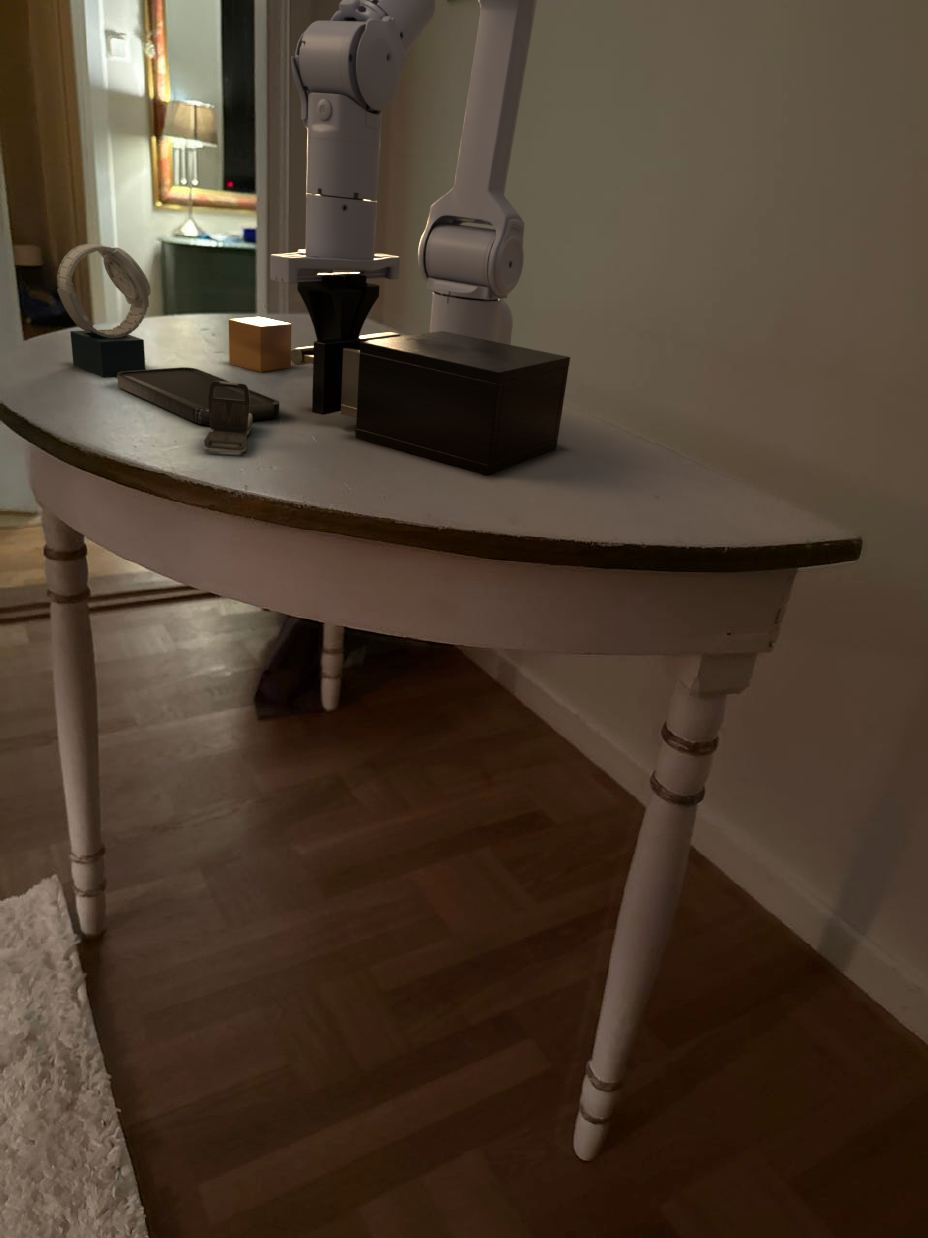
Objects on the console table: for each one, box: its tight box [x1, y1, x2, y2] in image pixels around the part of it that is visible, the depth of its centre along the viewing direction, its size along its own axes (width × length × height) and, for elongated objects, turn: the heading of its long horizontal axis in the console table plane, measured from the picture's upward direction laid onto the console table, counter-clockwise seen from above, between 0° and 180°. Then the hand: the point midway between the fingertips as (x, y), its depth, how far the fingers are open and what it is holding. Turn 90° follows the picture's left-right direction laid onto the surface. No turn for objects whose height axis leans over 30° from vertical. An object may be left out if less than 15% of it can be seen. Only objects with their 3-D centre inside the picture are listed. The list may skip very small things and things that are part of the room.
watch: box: [56, 243, 152, 378], centre depth 82 cm, size 6×8×11 cm
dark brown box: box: [355, 331, 571, 476], centre depth 71 cm, size 13×12×8 cm
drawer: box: [290, 331, 401, 419], centre depth 75 cm, size 16×10×6 cm, turn 58°
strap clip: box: [203, 381, 253, 454], centre depth 66 cm, size 8×3×4 cm, turn 8°
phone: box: [116, 366, 280, 426], centre depth 76 cm, size 8×1×15 cm
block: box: [228, 316, 292, 373], centre depth 91 cm, size 4×4×4 cm
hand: (335, 367), depth 77 cm, fingers closed, pressing on drawer
